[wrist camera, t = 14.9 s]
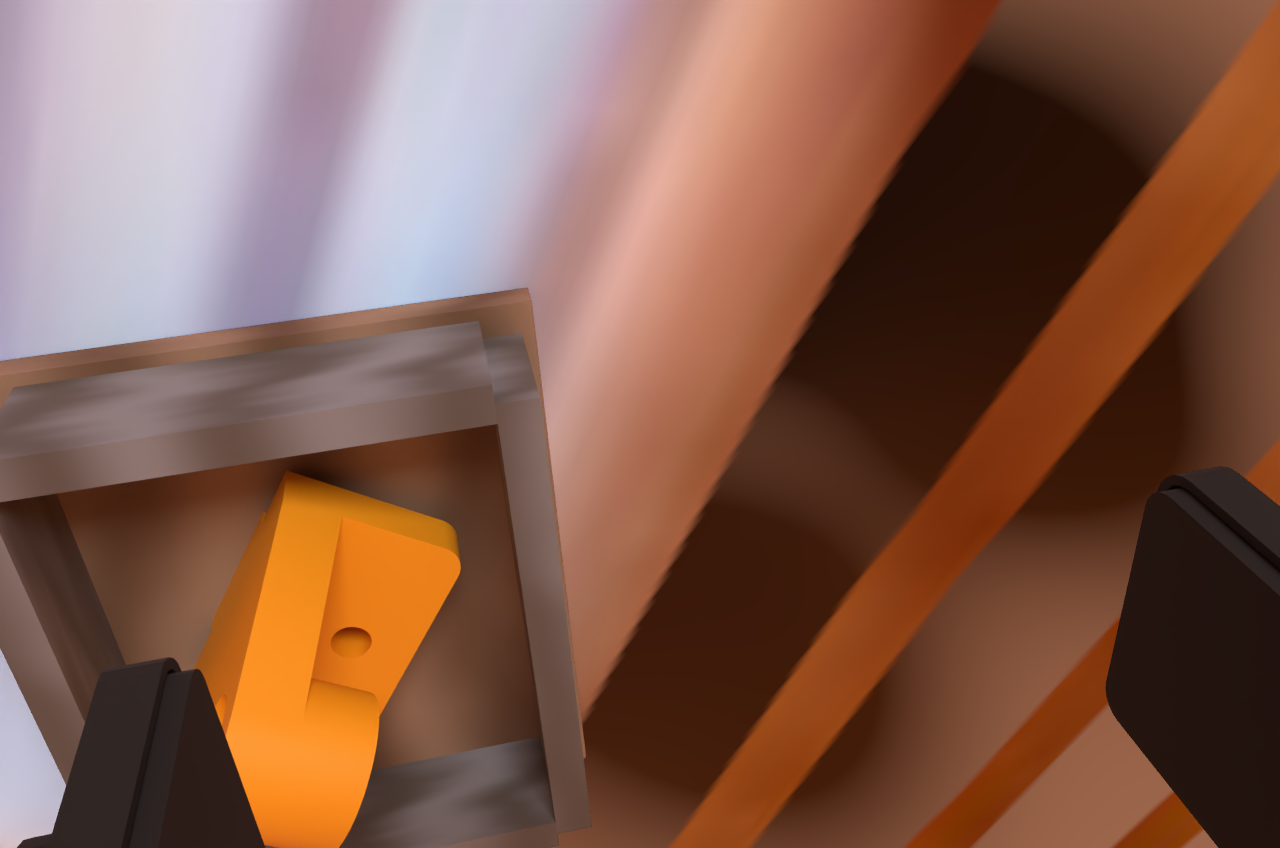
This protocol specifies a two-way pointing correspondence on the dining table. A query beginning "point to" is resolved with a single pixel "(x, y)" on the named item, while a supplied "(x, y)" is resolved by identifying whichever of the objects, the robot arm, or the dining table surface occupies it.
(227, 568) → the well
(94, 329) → the dining table surface
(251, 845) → the robot arm
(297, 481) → the bracket
